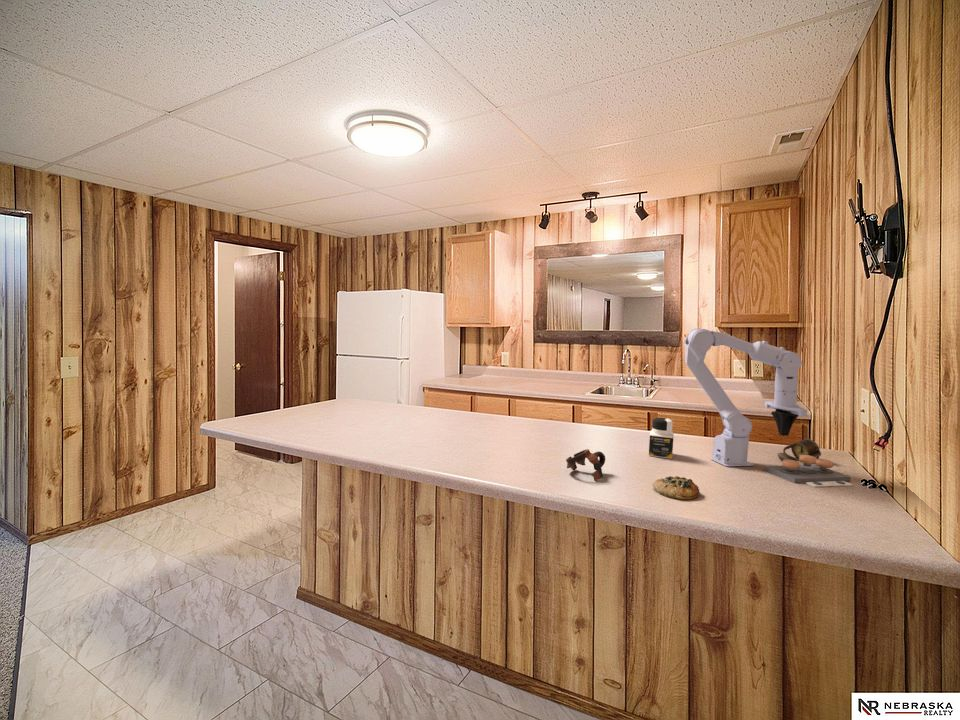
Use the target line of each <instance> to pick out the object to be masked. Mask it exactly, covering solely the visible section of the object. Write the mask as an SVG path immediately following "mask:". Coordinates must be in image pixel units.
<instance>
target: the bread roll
mask: <svg viewBox="0 0 960 720" xmlns="http://www.w3.org/2000/svg"><path fill="white" fill-rule="evenodd" d="M652 487H653V488H652V489H653V491H654V492H656V493H657V494H659V495H662V496H664V497H666V498H671V499H674V498H675V499H678V500H682V501H690V500H694V499H696V498H699V496H700V489H699V486H698V485H697V484H696V483H695V482H694V481H693V480H692V478H688V479H687V478H686V477H685V476H682V477H680V476H678V475H675V476H674V477H673V476H672V475H669V476H666V477H664V478H659V479H658V478H657V479H656V480H655V481H653V483H652Z"/></svg>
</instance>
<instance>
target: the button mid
mask: <svg viewBox="0 0 960 720" xmlns="http://www.w3.org/2000/svg"><path fill="white" fill-rule="evenodd" d="M798 462H799V463H802V465H804V466H808V467H810V466H811V465H815V464H816V457H813V456H809V455H800V457H799V461H798Z"/></svg>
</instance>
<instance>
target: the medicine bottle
mask: <svg viewBox="0 0 960 720" xmlns="http://www.w3.org/2000/svg"><path fill="white" fill-rule="evenodd" d="M673 423H674V422H673V420H672V419H670V418H666V417H655V418H653V419H652V426H651V427H652V429H651V430H650V432H649V441H648V457H654V458H655V457H656V458H662V459H663V458H664V459H669V460H670V459H671V460H672V459H673V453H674V452H673V450H674V436H675V434H674V432H673Z"/></svg>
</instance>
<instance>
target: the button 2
mask: <svg viewBox="0 0 960 720" xmlns="http://www.w3.org/2000/svg"><path fill="white" fill-rule="evenodd" d="M814 465H816V466H819V467H820V468H819V469H821V470H827V468H828V469H832V468H833V461H832V460H831V459H825V458H819V459H816V464H814Z"/></svg>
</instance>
